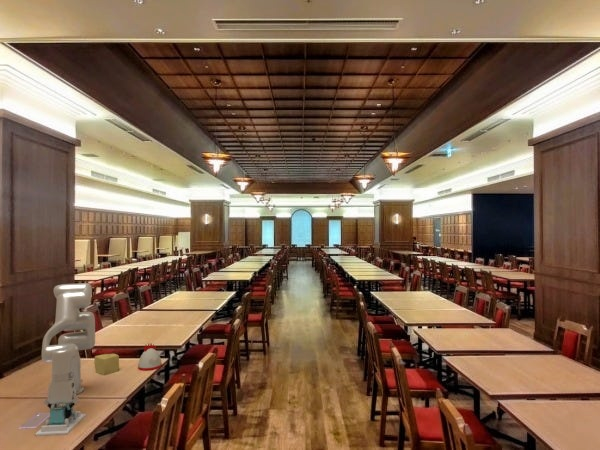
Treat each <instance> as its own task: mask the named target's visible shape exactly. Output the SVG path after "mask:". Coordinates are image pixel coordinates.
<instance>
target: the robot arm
mask: <svg viewBox="0 0 600 450" xmlns="http://www.w3.org/2000/svg"><path fill="white" fill-rule="evenodd" d="M92 294H93V287H92V285H91V284H90V283H87V282H83V283H79V282H78V283H66V284H65V283H62V284H58V285H55V286H54V288H53V295H54V297H55V298H56V304H55V305H56V307H55V321H54V324H52V326H51V327H50V328H49V329H48V330H47V331H46V333H45V335H44V336H43V339H42V343H41V344H42V345H41V347H42V348H41V359H42V361H43V362H44V363H51V380H50V382H49V385H48V392H47V393H48V394H47V397H46V398H45V400H44V401H43V404H44V405H46V406H47V407H48V409H50V410H52V409H53V408H54V407H55V406H56V405H58V404H64V403H66V407H67V410H66V418H69V417H70V416H71V415H72V407H73V408H74V406H75V405H76V404H77V403H78V402H80V398H79V397H78V396H77V395H79V394H81V393H83V392H84V389H85V388H84V386H82V385H81V384H82V382H83V379H82V378H81V377H82V376H81V372H82V371H81V369H82V368H81V360H82V359H81V356H80V354H79V351H83V350H90V349H93V348H94V347H95V344H96V318H95V314H94V313H93V312H91V311H82V312H81V311H80V309H85V308H88V307H89V306H90V305H91V301H92ZM62 331H64V332H67V333H63V334H61V335H60V336H59V337H58V340H57V342H58V343H57V344H51V341H52V339H53V338H54V337H55V336H56V335H58V334H59V333H60V332H62ZM50 344H51V345H50ZM72 401H73V403H72ZM50 410H49V411H50Z"/></svg>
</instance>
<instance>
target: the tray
mask: <svg viewBox="0 0 600 450" xmlns="http://www.w3.org/2000/svg"><path fill="white" fill-rule="evenodd" d="M81 412H82V411H81V410H79V411H78V410H77V409H76V410H73V415H71V416H70V417H69V418H66V419H65V422H64V423H63V424H62V425H50V418H47V419H46V420H45V425H41V426H40V429H39V430H38V431H37V432H36V433H34V436H35V437H43V436H59V435H60V436H61V435H63V436H64V435H68V434H69V433H70V432H71V431H72V430H73V429H74V428H75V427H76V426H77V425H78V424H79V423H80V422H81V421H82V420H83V419H84V418H85V417H86V415H87V413H81Z"/></svg>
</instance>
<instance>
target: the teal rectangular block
mask: <svg viewBox="0 0 600 450" xmlns="http://www.w3.org/2000/svg"><path fill="white" fill-rule="evenodd" d="M73 402H74V400H72V403H73ZM66 410H67V407H66V403H64V404H57V405H56V406H55V407H54V408H53V409H52V410H49V412H50V416H49V421H50V425H62V424H63V423H64V422H65V419H66ZM73 411H74V406H73V407H72V415H73Z"/></svg>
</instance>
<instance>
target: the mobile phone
mask: <svg viewBox="0 0 600 450" xmlns="http://www.w3.org/2000/svg"><path fill="white" fill-rule="evenodd" d="M49 418H50V411H48V412H36V413H35V414H33V415H32V416H31V417H30V418H28V419H27V420H26V421H25V422H24V423H23V422H22V424H21V425H20V426H18V429H19V430H20V429H22V430H23V429H35V428H38V427H39V425H42V423H43V422H45V421H46V420H47V419H49Z"/></svg>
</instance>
